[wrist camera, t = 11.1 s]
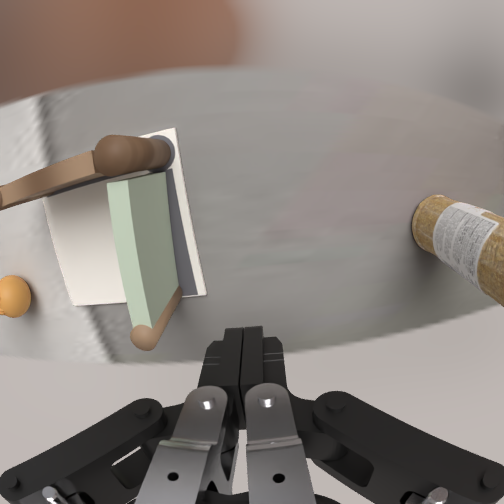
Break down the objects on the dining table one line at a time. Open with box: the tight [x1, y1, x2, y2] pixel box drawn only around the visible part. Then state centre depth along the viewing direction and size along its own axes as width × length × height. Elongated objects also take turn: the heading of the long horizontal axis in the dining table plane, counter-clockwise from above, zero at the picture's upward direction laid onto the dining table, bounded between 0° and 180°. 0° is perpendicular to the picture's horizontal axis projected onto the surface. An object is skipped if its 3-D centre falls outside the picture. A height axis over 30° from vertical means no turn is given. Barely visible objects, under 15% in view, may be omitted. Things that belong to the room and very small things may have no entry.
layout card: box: [43, 128, 207, 306], centre depth 21 cm, size 12×12×1 cm
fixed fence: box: [0, 135, 171, 211], centre depth 16 cm, size 12×2×7 cm, turn 99°
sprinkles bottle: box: [412, 195, 504, 307], centre depth 14 cm, size 5×5×14 cm
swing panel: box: [107, 172, 183, 351], centre depth 18 cm, size 9×2×6 cm, turn 3°
